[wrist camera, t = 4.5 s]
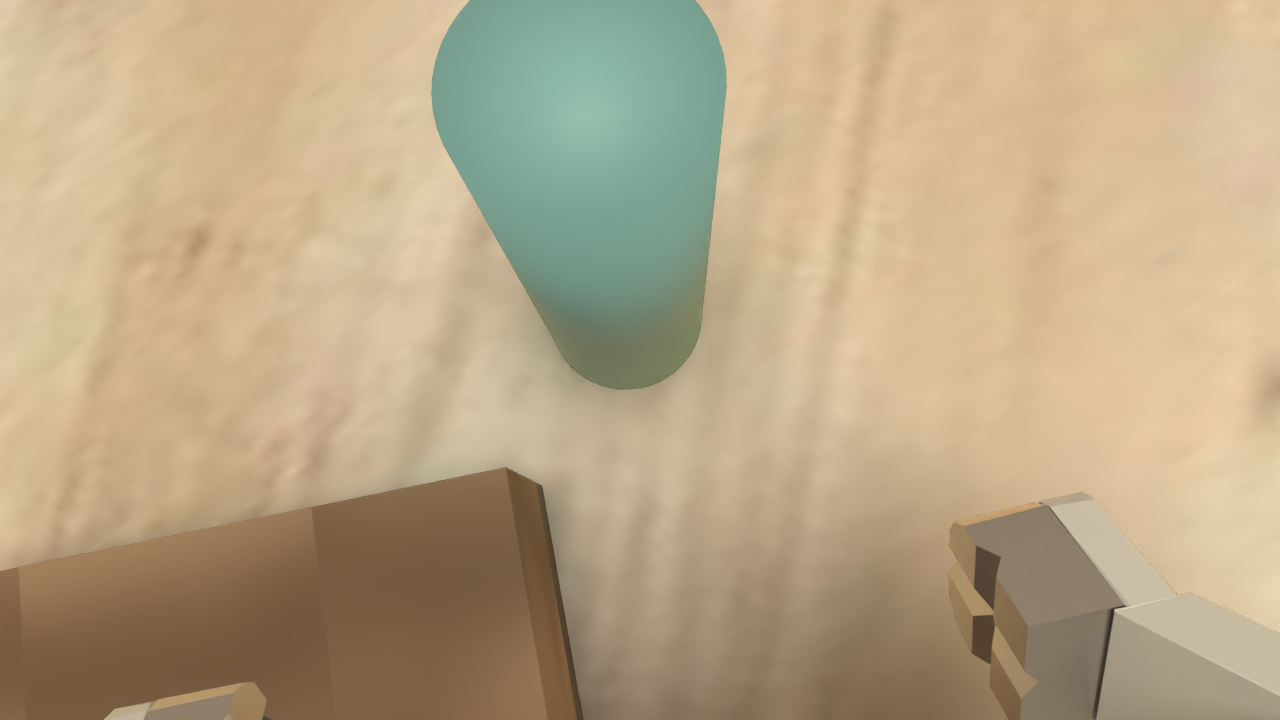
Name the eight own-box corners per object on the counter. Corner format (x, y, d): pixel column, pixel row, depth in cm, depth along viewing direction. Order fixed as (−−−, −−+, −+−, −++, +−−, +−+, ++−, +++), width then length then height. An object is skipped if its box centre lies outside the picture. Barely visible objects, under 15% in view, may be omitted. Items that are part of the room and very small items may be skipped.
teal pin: (715, 372, 23) (756, 188, 12) (566, 403, 23) (455, 250, 12) (684, 231, 24) (692, -74, 12) (540, 260, 24) (412, -16, 12)
